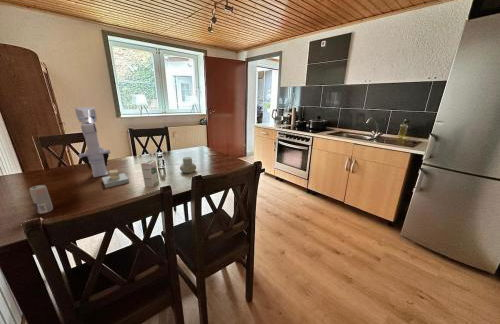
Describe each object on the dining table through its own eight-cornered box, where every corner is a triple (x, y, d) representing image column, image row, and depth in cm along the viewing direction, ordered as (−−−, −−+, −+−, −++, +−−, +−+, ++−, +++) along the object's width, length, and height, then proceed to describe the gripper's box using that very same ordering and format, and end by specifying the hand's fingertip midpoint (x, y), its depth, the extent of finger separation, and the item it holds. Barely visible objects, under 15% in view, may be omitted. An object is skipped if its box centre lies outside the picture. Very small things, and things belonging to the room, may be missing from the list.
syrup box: (153, 187, 118) (149, 163, 114) (144, 186, 119) (140, 162, 115) (159, 183, 123) (156, 160, 119) (150, 182, 125) (147, 159, 120)
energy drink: (44, 208, 96) (36, 184, 92) (56, 207, 96) (49, 184, 92) (34, 214, 90) (24, 190, 87) (46, 213, 91) (38, 189, 87)
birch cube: (110, 177, 124) (108, 170, 123) (118, 176, 127) (117, 169, 126) (111, 180, 121) (109, 173, 120) (119, 178, 124) (118, 171, 122)
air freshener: (185, 175, 136) (184, 161, 133) (178, 172, 141) (176, 158, 137) (198, 170, 144) (197, 157, 141) (191, 168, 149) (190, 155, 146)
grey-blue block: (103, 182, 125) (101, 177, 124) (125, 177, 133) (124, 173, 132) (105, 188, 117) (104, 184, 116) (129, 183, 124) (128, 178, 123)
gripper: (76, 148, 109) (83, 171, 113) (109, 144, 118) (113, 166, 122) (76, 145, 114) (82, 168, 118) (107, 142, 123) (111, 163, 127)
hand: (98, 167), depth 120 cm, fingers open, 7 cm apart
